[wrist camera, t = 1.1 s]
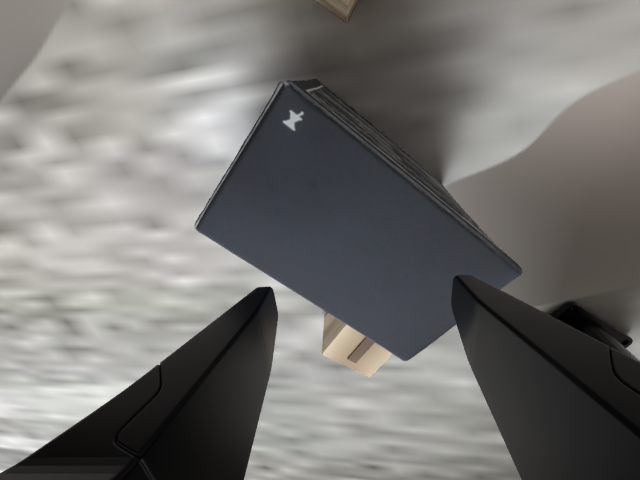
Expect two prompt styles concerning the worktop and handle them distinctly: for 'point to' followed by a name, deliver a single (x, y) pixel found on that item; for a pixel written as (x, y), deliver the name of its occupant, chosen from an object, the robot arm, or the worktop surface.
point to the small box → (349, 221)
